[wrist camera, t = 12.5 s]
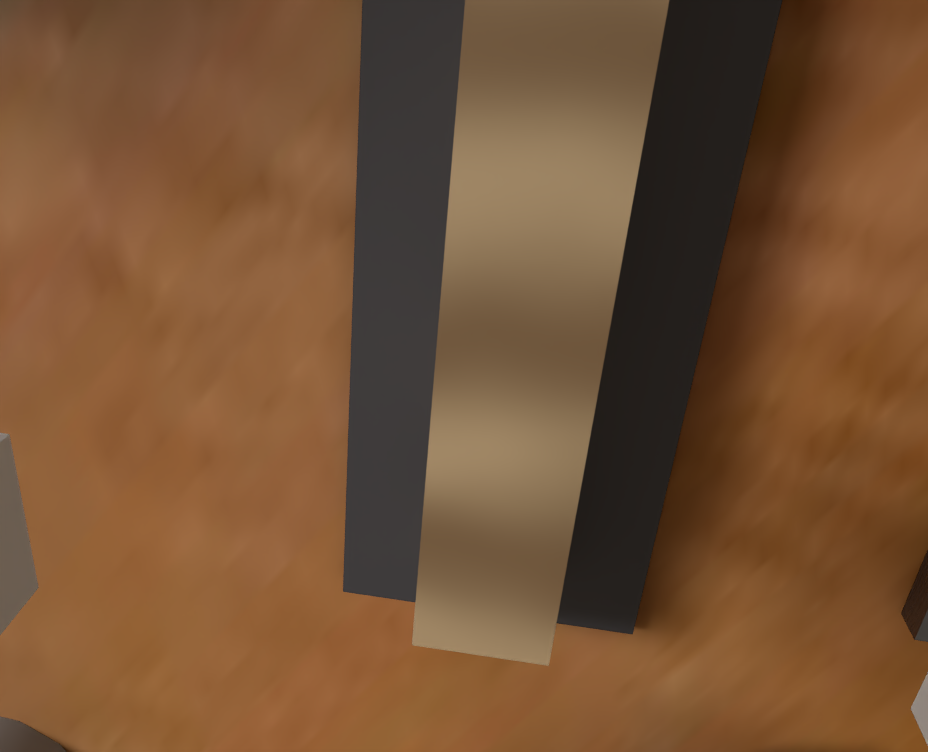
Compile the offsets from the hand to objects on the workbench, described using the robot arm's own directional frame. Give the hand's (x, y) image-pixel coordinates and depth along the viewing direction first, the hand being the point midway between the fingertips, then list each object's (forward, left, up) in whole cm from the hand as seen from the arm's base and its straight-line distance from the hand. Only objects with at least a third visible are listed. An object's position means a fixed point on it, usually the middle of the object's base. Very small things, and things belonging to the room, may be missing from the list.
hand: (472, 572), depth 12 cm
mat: (0, 0, -14) cm, 14 cm away
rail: (0, 0, -13) cm, 13 cm away
